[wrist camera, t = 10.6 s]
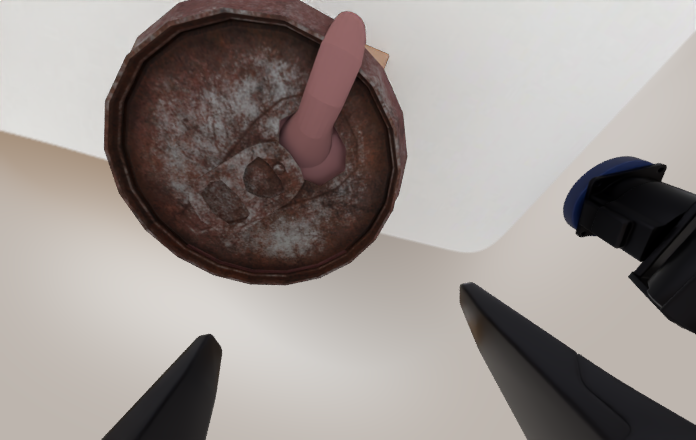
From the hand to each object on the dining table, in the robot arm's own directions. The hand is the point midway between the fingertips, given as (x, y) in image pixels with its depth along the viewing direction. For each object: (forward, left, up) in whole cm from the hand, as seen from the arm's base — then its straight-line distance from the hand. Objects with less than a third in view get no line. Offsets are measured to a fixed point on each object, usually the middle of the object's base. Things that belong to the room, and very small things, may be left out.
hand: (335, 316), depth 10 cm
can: (0, -6, -13) cm, 14 cm away
